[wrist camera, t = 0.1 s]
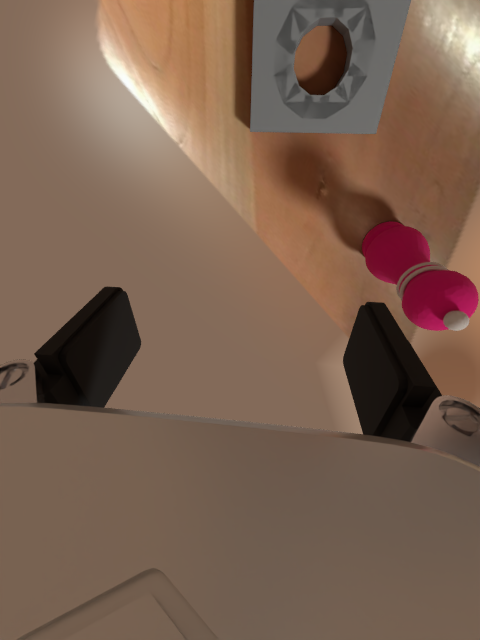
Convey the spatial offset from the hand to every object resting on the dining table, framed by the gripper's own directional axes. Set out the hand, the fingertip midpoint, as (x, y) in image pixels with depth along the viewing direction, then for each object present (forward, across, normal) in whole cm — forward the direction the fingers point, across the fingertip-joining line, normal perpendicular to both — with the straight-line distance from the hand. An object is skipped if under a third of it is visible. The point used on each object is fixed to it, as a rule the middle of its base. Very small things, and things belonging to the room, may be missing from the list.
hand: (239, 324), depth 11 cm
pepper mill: (+31, -18, +7) cm, 37 cm away
